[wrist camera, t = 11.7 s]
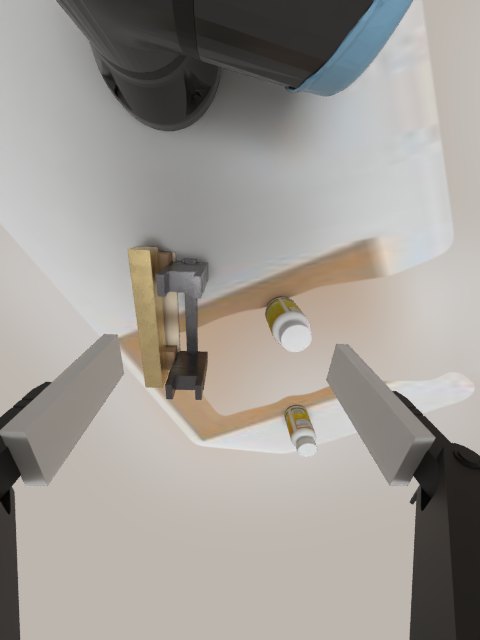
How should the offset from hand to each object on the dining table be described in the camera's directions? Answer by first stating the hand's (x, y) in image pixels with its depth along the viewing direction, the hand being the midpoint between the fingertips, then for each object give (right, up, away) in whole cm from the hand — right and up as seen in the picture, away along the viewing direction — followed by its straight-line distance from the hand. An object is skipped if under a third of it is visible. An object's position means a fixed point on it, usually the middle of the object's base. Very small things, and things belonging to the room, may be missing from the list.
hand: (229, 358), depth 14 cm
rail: (-14, +3, +26) cm, 30 cm away
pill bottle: (+9, +4, +30) cm, 32 cm away
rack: (-9, +3, +30) cm, 31 cm away
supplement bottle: (+14, -20, +41) cm, 48 cm away
